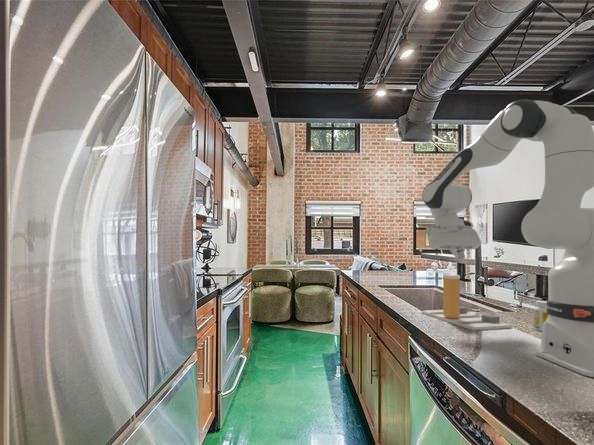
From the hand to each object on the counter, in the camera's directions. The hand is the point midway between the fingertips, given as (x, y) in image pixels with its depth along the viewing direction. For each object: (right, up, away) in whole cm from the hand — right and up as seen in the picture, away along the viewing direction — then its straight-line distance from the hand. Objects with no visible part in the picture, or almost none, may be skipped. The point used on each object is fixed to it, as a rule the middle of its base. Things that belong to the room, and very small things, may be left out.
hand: (460, 258), depth 131 cm
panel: (+2, -24, +2) cm, 24 cm away
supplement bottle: (+23, -23, -11) cm, 35 cm away
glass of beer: (-3, -22, +1) cm, 22 cm away
